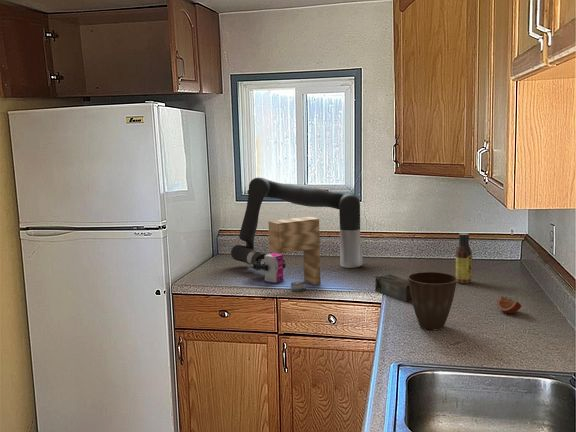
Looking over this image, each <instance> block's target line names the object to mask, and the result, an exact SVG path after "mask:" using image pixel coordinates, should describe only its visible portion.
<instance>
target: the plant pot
mask: <svg viewBox="0 0 576 432" xmlns="http://www.w3.org/2000/svg"><path fill="white" fill-rule="evenodd" d="M407 280H408V281H409V288H410V294H411V299H412V301H411V302H412V307H413V310H414V314H415V317H416V320H417V323H418V325H419V326H421V327H423V328H422V329H424V328H425V329H424V330H428V329H433V330H432V331H435V330H434V329H439V330H441V328H442V329H443V328H444V327H445V324H446V322H447V321H448V316H449V314H450V312H451V308H452V304H453V301H454V296H455V292H456V288H457V287H456V286H457V278H456V275H455V276H454V275H452V274H449V273H446V272H445V273H444V272H437V271H436V272H435V271H422V272H421V271H420V272H415V273H414V272H413V273H412V274H409V275H408V277H407ZM421 327H420V328H421Z"/></svg>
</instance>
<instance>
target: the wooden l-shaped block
mask: <svg viewBox="0 0 576 432" xmlns="http://www.w3.org/2000/svg"><path fill="white" fill-rule="evenodd" d="M267 223H268V224H267V225H268V249H269V250H268V251H270V252H271V253H275V254H281V255H282V254H286V253H295V252H300V251H303V282H305V283H310V284H312V285H319V284H320V285H321V245H320V243H321V242H320V240H321V239H320V238H321V237H320V236H321V235H320V218H318V217H313V216H301V217H293V218H285V219H284V218H283V219H276V220H275V219H274V220H268V222H267Z"/></svg>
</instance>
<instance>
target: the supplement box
mask: <svg viewBox="0 0 576 432" xmlns="http://www.w3.org/2000/svg"><path fill="white" fill-rule="evenodd" d="M267 254H268V255H265V265H268V269H269V270H268V271H265V270H264V282H265V283H269V284H278V283H281V282H283V281H284V268H283V260H284V254H282V253H281V254H278V253H275V252H271V253H267Z"/></svg>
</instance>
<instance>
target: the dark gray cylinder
mask: <svg viewBox="0 0 576 432" xmlns="http://www.w3.org/2000/svg"><path fill="white" fill-rule="evenodd" d="M290 290H291V292H292V293H296V294H297V293H298V294H299V293H305V292H307V282H306V281H293V282H291V283H290Z"/></svg>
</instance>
